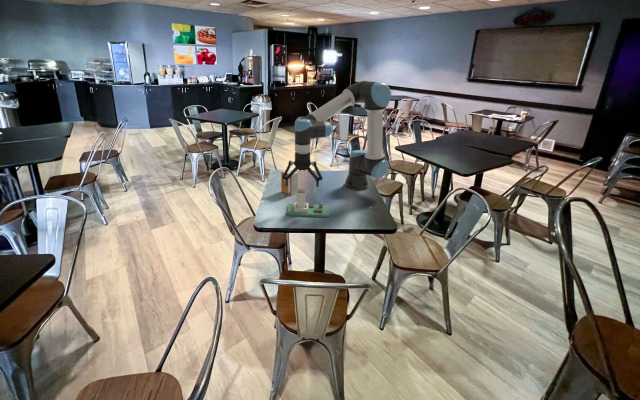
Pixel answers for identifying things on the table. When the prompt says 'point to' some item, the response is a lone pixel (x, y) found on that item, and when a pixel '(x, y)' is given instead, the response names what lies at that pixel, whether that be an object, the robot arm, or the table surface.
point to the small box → (292, 183)
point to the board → (309, 210)
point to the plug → (301, 198)
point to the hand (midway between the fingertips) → (302, 192)
